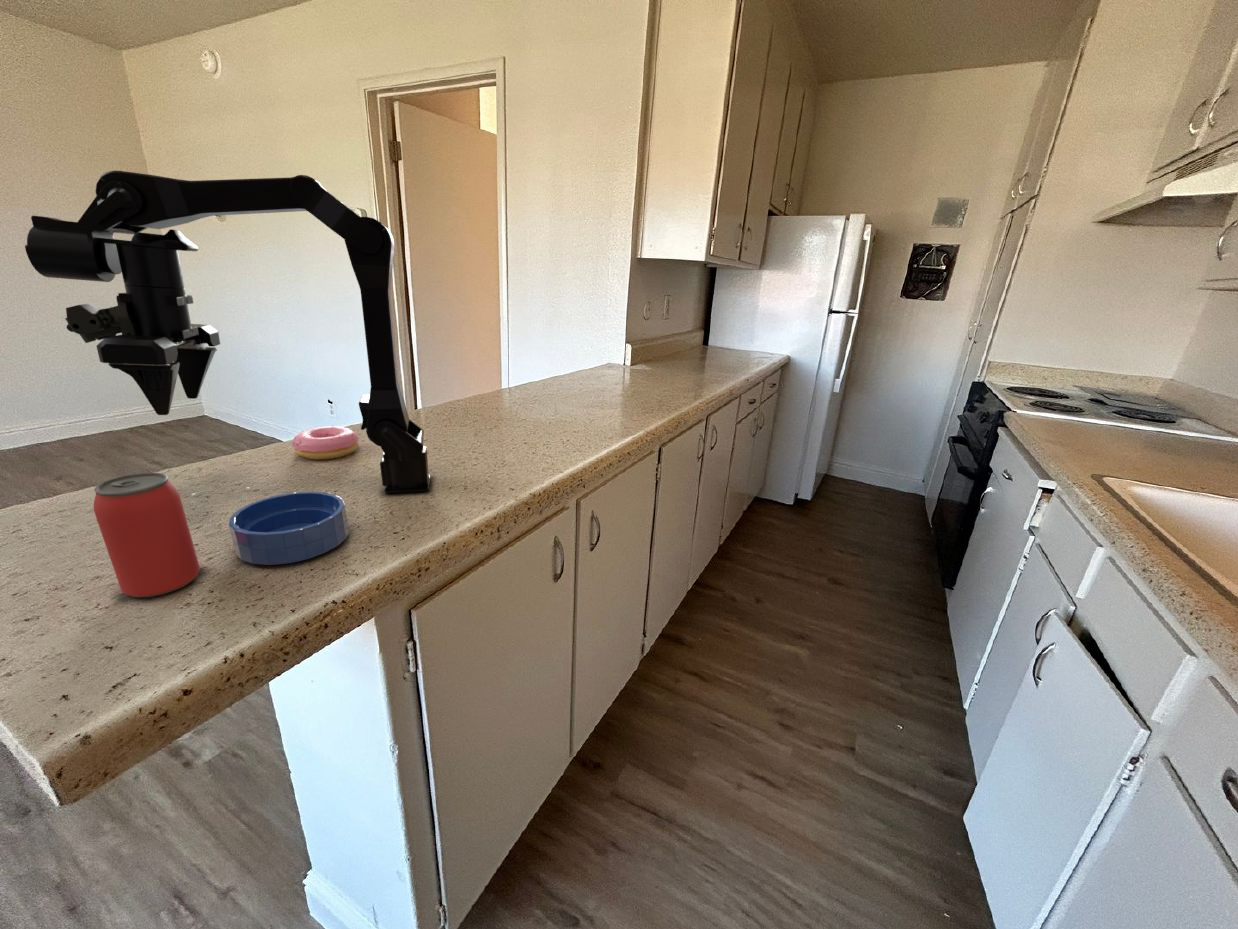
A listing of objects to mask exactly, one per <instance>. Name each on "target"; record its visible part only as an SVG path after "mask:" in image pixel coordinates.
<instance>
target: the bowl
mask: <svg viewBox="0 0 1238 929" xmlns="http://www.w3.org/2000/svg"><path fill="white" fill-rule="evenodd" d="M228 527H229V531H230V532H229V533H230V536H231V539H232V540H231V541H232V544H233V548H234V552H235V555H236V556H237V557H238V558H239V560H241V561H243V562H246V563H249V564H253V565H264V566H265V565H267V566H273V565H285V564H293V563H298V562H302V561H306V560H309V559H313V558H315V557H318V556H320V555H323V554H325V553H327V552H329V551H331V550H333V549H335V548H336V547H338V546H340V545H341V544H342V543H343V542H344V541H345V540H346V539H347V537H348V534H349V532H350V530H349V529H350V528H349V522H348V515H347V509H346V504H345V501H344V499H343V498H341V497H340V496H339V495H337V494H335V493H334V494H333V493H330V492H326V491H325V492H324V491H298V492H295V491H294V492H288V493H282V494H276V495H273V496H269V497H265V498H262V499H259V500H256V501H253V502H251V503H248V504H246V505H245V506H243V507H241V508H240V509H238V510H236V511H234V513H233V514H232V515H231V516H230V517H229V518H228Z"/></svg>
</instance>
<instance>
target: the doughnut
mask: <svg viewBox="0 0 1238 929" xmlns="http://www.w3.org/2000/svg"><path fill="white" fill-rule="evenodd" d="M359 442H360V438H359V437H358V434H357V433H356V432H355V430H353V429H350V428H349V427H344V426H343V427H342V426H334V425H332V426H320V427H314V428H309V429H306V430H302V431H301V432H299V433H298V434H297V435H296V436H294V438H293V441H292V442H291V445H292V448H293V450H294V452H295V453H296V454H297V455H298V456H300V457H302V458H304V459H308V460H309V459H310V460H330V459H337V458H340V457H344V456H348V455H349V454H351V453H353V452H354V451H355V450H356V449H357V448H358V447H359Z"/></svg>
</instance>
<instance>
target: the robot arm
mask: <svg viewBox="0 0 1238 929" xmlns="http://www.w3.org/2000/svg"><path fill="white" fill-rule="evenodd" d="M95 195H96V196H95V197H94V199H93V200H92V201H91V202H90V204H89V206H88V207H87V208H86V210H85V211H84V212H83V214H82V215H81V216H80V218H79V219H78V220H77V221H72V220H71V221H70V220H63V219H60V218H56V217H49V216H42V215H32V216H31V217H30V219H31V223H32V227H31V228H30V229H29V230H28V233H27V236H26V244H25V245H24V249H25V253H26V256H27V258H28V260H29V262H30V263H31V266H32V267H33V268H34V270H35V271H36V272H37V273H38V274H39V275H41V276H43V277H45V278H48V279H49V278H51V279H61V280H62V279H64V280H74V281H75V280H76V281H88V282H89V281H90V282H101V283H111V282H112V281H113V280H114V279H115V278H116V275H121V276H122V280H123V284H124V289H125V292H118V294H117V295H116V297H115V298H116V303H117V304H116V306H110V307H107V308H101V309H96V308H95V307H93V306H92V305H90V304H89V303H82V304H76V305H73V306H68V307H65V313H66V317H65V318H64V319H65V321H66V323H67V325H66V329H67V331H69V332H70V333H75V334H77V335H79V336H80V337H81V338H82V340H83V342H84V343H85V344H88V343H91V342H92V343H93V342H95V341H100V342H99V343H98V344H96V350H97V354H98V359H99V363H103V364H108V366H109V367H110V368H112V369H115V370H119V371H121V372H123V373H125V374H127V375H129V376H130V377H131V378H132V379H133V380H134V382H135V383H136V384H137V386H138V387H139V388H140V391H141V392H142V393H143V394H144V396H145V398H146V399H147V401H148V403H149V404H150V406H151V407H152V409H153V410H154V412H155V413H156V415H158V416H168V415H169V414H170V411H171V408H172V403H173V398H174V394H175V390H176V383H177V380H178V379H177V378H179V380H180V383H181V386H182V388H183V391H184V393H185V396H186V398H187V399H193V400H195V399H198V398H199V395H200V392H201V389H202V386H203V384H204V381H205V379H206V375H207V373H208V370H209V368H210V366H211V363H212V361H213V359H214V356H215V354H216V352H217V350H218V348H217V346H219V345H221V340H220V334H219V331H218V330H217V329H216V328H215V327H213V326H212V325H210V324H201V323H192V322H191V316H190V311H189V305H193V304H194V298H193V295H191V294H186V288H185V282H184V277H183V272H182V265H181V261H180V260H181V259H180V254H179V251H182V252H198V251H199V247H198V246H197V245H196V244H195V243H193V242H192V241H191V240H189V239H188V238H187V237H185V235H184V234H183V233H182V232H181V231H180V230H178V229H172V227H177V226H182V225H184V224H189V223H192V222H196V221H198V220H201V219H205V218H209V217H215V216H216V217H217V216H234V215H237V216H238V215H255V214H273V213H294V212H295V213H297V212H308V213H309V214H311V215H312V216H313V217H314V218H316V219H317V220H318V221H320V222H321V223H322V224H323V225H325V226H326V227H327V228H329V230H331V231H332V232H334V233H335V234H337V235H338V236H339V237H341V238H342V239H343V240H344V244H345V247H346V250H347V253H348V254H347V255H348V257H349V260H350V265H351V268H352V270H353V273H354V276H355V278H356V281H357V285H358V287H359V290H360V297H361V300H360V301H361V308H362V318H363V324H364V325H363V327H364V336H365V346H366V355H367V363H368V373H369V383H370V390H369V394H367V393H363V394H362V395H361V398H360V400H359V401H358V407H359V410H360V414H361V418H362V424H361V427H360V430H361V431H364V430H365V431H366V432H365V433H366V435H367V438H368V440H369V441H370V442H372V443H373V444H375V446H378V447H380V448H381V451H382V458H381V460H380V462H379V466H380V475H381V476H380V477H381V483H382V486H383V487H385V488H384V494H388V495H390V494H405V493H406V494H408V493H421V492H422V493H425V492H428V491H429V489H430V483H431V477H432V476H431V474H430V473H429V461H428V449H427V446H426V445H424V433H425V431H424V429H423V428H422V427H420V426H419V425H418V424H417V423H415V422H414V421H413V420H412V419H410V415H409V413H408V409H407V405H406V402H405V398H404V395H403V392H402V390H401V388H400V384H399V380H398V378H399V377H398V367H397V356H396V347H395V346H396V345H395V335H394V334H395V333H394V322H393V312H392V310H393V309H392V301H391V300H392V299H391V284H392V275H393V268H394V258H395V245H396V244H395V240H394V236H393V234H392V232H391V230H389V229H388V228H387V227H386V226H385V225H384V224H383V223H382V222H381V221H379V220H377V219H376V218H373V217H369V216H360V215H359V214H358V213H356V212H355V211H354V210H352V209H351V208H350V207H349V206H347V205H346V204H344V203H343V202H342V201H341V200H339V199H338V198H337V197H335V196H334V195H333V194H332V193H330V192H329V191H328V190H326V188H325V186H323V184H321V183H320V182H319V181H318V180H316V179H315V178H314V177H311V176H309V175H305V174H298V175H295V176H292V177H266V178H265V177H264V178H263V177H262V178H236V179H235V178H233V179H207V180H206V179H203V180H201V179H200V180H189V179H188V180H186V179H180V178H179V179H178V178H172V177H168V176H167V177H166V176H160V175H155V174H149V173H148V174H147V173H140V172H132V171H124V170H110V171H106V172H104V173H102V174H100V177H99V179H98V180H97V182H96V185H95ZM167 228H171V229H169V230H168V231H167V232H166V233H165V234H159V233H158V234H157V233H150V232H143V231H145V230H147V229H154V230H155V229H156V230H163V229H167ZM114 234H125V235H132V237H131V240H126V239H117V238H114ZM206 345H208V346H206Z"/></svg>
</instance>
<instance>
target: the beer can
mask: <svg viewBox="0 0 1238 929" xmlns="http://www.w3.org/2000/svg"><path fill="white" fill-rule="evenodd" d="M93 490H94V492H95V494H94V495H95V496H94V499H93V500H94V501H93V513H94V516H95V518H96V522H97V523H98V527H99V529H100V533H101V536H102V538H103V542H104V544H105V547H106V550H107V553H108V556H109V559H110V562H111V565H112V567H113V571H114V573H115V577H116V580H117V582H118V585H119V589H120V590H121V593H122V594H125V595H127V596H129V597H131V598H132V597H133V598H154V597H157V596H158V597H159V596H162V595H167V594H170V593H173V592H175V591H177V590H179V589H181V588H184V587H185V586H187V585H189V584H190V583H192V582H193V581H194V580H195V579H196V578H197V577H198V575H199V574H200V570H201V567H200V563H199V560H198V556H197V553H196V549H195V546H194V542H193V541H194V540H193V538H192V535H191V531H190V527H189V524H188V519H187V516H186V513H185V509H184V505H183V501H182V498H181V494H180V493H179V491H178V490H177V489H176V487H175V486H174V485H173V484H172V483H171V482H170V480H169V477H168V475H167V474H165V473H161V472H139V473H131V474H126V475H120V476H116V477H113V478H110V479H107V480H104V481H102V482H101V483H99V484H97V485H96V486H95V487H94V488H93Z"/></svg>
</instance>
